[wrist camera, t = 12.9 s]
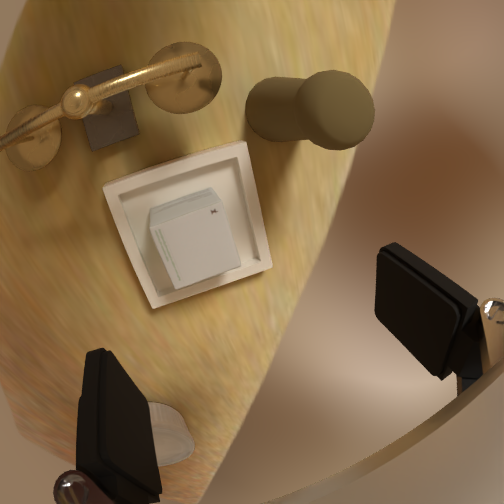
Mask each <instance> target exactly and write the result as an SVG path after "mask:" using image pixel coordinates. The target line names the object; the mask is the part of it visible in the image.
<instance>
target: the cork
mask: <svg viewBox="0 0 504 504" xmlns="http://www.w3.org/2000/svg"><path fill="white" fill-rule="evenodd" d="M374 114H375V109H374V104H373V99H372V97H371V95H370V93H369V91H368V89H367V88H366V87H365V86H364V85H363V84H362V82H361V81H360V80H359V79H357V78H356V77H354V76H353V75H351V74H349V73H346V72H341V71H337V70H329V71H323V72H318V73H316V74H314V75H312V76H311V77H309V78H307V79H300V78H286V77H272V78H267V79H264V80H262V81H261V82H259V83H258V84H256V85H255V86H254V88H253V89H252V90H251V91H250V93H249V95H248V98H247V101H246V116H247V119H248V123H249V124H250V126H251V127H252V129H253V130H254V132H256V133H257V134H258V135H259V136H261V137H262V138H264V139H267V140H270V141H278V142H283V141H295V140H310V141H311V142H313V143H314V144H316V145H318V146H320V147H323V148H325V149H329V150H345V149H348V148H351V147H355V146H356V145H357V144H359V143H360V142H361V141H363V140H364V139H365V137H366V136H367V135H368V133H369V132H370V130H371V128H372V125H373V122H374Z"/></svg>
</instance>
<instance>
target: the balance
mask: <svg viewBox="0 0 504 504" xmlns="http://www.w3.org/2000/svg"><path fill="white" fill-rule="evenodd" d="M221 81H222V71H221V67H220V64H219V62H218V60H217V58H216V57H215V55H214V54H213V53H212V52H211V51H210V50H209V49H207V48H205V47H204V46H202V45H199V44H196V43H192V42H179V43H174V44H171V45H168V46H166V47H164V48H163V49H161V50H160V51H159V52H157V53H156V54H155V55H154V56H153V58H152V59H151V60H150V62H149V64H148V66H146V67H143V68H140V69H137V70H134V71H132V72H129V73H126V74H124V71H123V67H122V65H119V66H116V67H113V68H110V69H107V70H105V71H102V72H99V73H97V74H94V75H92V76H89V77H87V78H84V79H82V80H79V81H77V82H75V83H74V86H72V87H70V88H68V89H67V90H66V91H65V93H64V94H63V96H62V98H61V102H60V103H58V104H56V105H54V106H52V107H50V108H48V107H46V106H42V105H31V106H28V107H25V108H23V109H22V110H20V111H19V112H18V113H17V114H16V115H15V116H14V117H13V118H12V120H11V121H10V123H9V125H8V128H7V131H6V133H5V134H4V135H2V136H1V137H0V152H1V151H3V150H4V149H6V152H7V155H8V157H9V159H10V161H11V162H12V163H13V164H14V165H15V166H16V167H18V168H19V169H22V170H25V171H35V170H38V169H41V168H42V167H44V166H46V165H47V164H49V163H50V162H51V161H52V160H53V158H54V157H55V156H56V154H57V152H58V150H59V147H60V144H61V140H62V128H61V123H60V120H59V119H60V118H62V117H64V116H66V117H67V118H69V119H73V120H78V119H83V122H84V126H85V130H86V133H87V137H88V140H89V143H90V147H91V150H92V152H93V151H95V150H98V149H100V148H103V147H105V146H108V145H110V144H113V143H116V142H118V141H121V140H124V139H127V138H130V137H132V136H135V135H138V134H140V133H139V129H138V126H137V122H136V118H135V115H134V111H133V107H132V103H131V99H130V95H129V91H128V89H131V88H134V87H136V86H139V85H142V84H145V88H146V91H147V94H148V96H149V97H150V99H151V100H152V101H153V103H154V104H155V105H157V106H158V107H159V108H161V109H163V110H165V111H167V112H170V113H175V114H186V113H191V112H195V111H197V110H200V109H202V108H203V107H205V106H206V105H208V104H209V103H210V102H211V101H212V100H213V99H214V97H215V96H216V94H217V93H218V91H219V88H220V85H221Z"/></svg>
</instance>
